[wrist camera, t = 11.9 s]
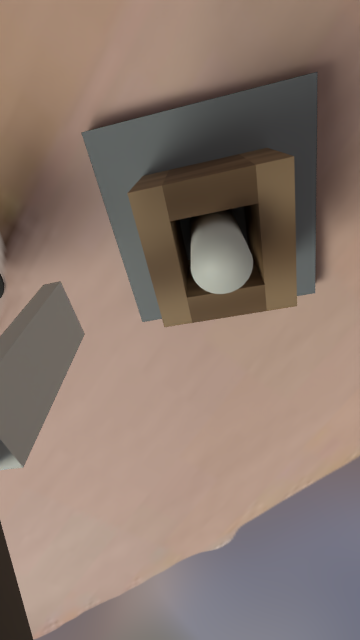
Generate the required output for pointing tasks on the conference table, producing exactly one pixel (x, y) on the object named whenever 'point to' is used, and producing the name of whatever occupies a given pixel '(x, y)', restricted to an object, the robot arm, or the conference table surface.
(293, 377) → the conference table surface
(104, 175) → the post stand
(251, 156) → the collar
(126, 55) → the conference table surface
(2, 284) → the sundae
